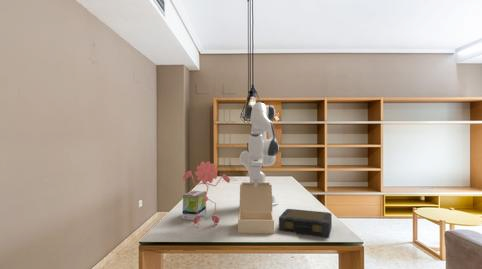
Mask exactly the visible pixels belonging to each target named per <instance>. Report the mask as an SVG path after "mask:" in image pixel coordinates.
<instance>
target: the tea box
mask: <svg viewBox="0 0 482 269" xmlns="http://www.w3.org/2000/svg"><path fill="white" fill-rule="evenodd" d="M206 192H207V190H190V191H189V192H186V193H184V194H182V220H184V221H185V220H187V221H193V220H194V218H195V217H196V216H197V213H198V216H200V219H201V218H202V217H204V216H205V215H206V214H207V201H204V200H203V198H204V197H205V196H207V195H206ZM201 200H203V201H201ZM200 201H201V202H200ZM199 202H200V203H199ZM197 203H198V204H197ZM196 204H197V211H196Z"/></svg>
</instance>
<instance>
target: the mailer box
mask: <svg viewBox="0 0 482 269" xmlns="http://www.w3.org/2000/svg"><path fill="white" fill-rule="evenodd" d="M238 214H239V215H238V218H237V233H238V234H275V218H274V215H273V211H272V212H239V213H238Z"/></svg>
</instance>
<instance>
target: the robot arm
mask: <svg viewBox="0 0 482 269" xmlns="http://www.w3.org/2000/svg"><path fill="white" fill-rule="evenodd" d="M243 115H244V117H245V119H247V120H250V124H251V129H250V130H251V131H250V134H249V136H248V142H247V143H246V150H244V151H241V153H240V155H239V161H240V163H241V164H242V166H244V167H245V169H247V170H246V171H247V172H248V176H249V183H254V186H255V187H257V183H266V174H265V173H264V172H263V171H261V168H262V167H269V166H273V165H274V164H275V163H276V158H277V157H276V155H277V154H278V153H279V151H280V146H279V142H278V139H277V137H276V136H277V134H276V131H275V127H274V123H273V119H275V118H274V117H275V116H276V109H275V107H274V105H271V104H265V103H263V102H255V103H254V104H248V105H246V106H245V107H244V110H243ZM267 133H268V134H267ZM267 135H268V139H267ZM275 200H276V199H275V196H274V194H272V207H274V206H277V205H279V202H277V201H275Z"/></svg>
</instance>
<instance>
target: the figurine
mask: <svg viewBox="0 0 482 269" xmlns="http://www.w3.org/2000/svg"><path fill="white" fill-rule="evenodd" d="M215 167H216V163H211V162H210V161H206V162H204V161H201V162H200V164H199V165H197V166H196V171H194V175H195V176H196V178H197V181H201V182H200V183H196V182H195V180H194V176H193V174H192V170H187V172H185V173H184V174H183V176H182V178H183V181H185V180H186V179H189V178H190V177H191V179H192V182H193V184H194V186H195V185H206V187H207V188H206V196H205V197H204V198H203V200H204V201H206V202H207V201H210V202H211V203H213V204H214V211H216V208H217V204H216V202H214V201H213V200H211V199H209V197H208V196H207V194H208V191H209V186H212V187H217V185H218V184H219V182H220V181H221V180H222V179H223V180H224V181H225V182H227V183H228V184H229V183H230V181H231V179H230V178H229V176H228V175H226V174H225V173H223V174H222V175H221V177H220V178H219V180H218V181H217V182H216V184H211V183H213V180H214V179H215V180H216V179H217V178H218V175H217V173H218V172H219V171H218V169H217V168H215ZM203 200H201V201H203ZM201 201H200V202H201ZM200 202H199V203H200ZM197 204H198V203H197ZM197 204H196V211H197ZM201 221H202V219H201V218H200V216H198V213H197V216H196V217H195V218H194V220H192V221H191V222H189V223H190V224H191V223H193V224H194V225H196V228H199V222H201ZM211 221H213V228H216V224H217V225H218V224H219V222H220V218H219V216H217V215H216V213H214V214H213V215H212V217H211Z"/></svg>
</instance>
